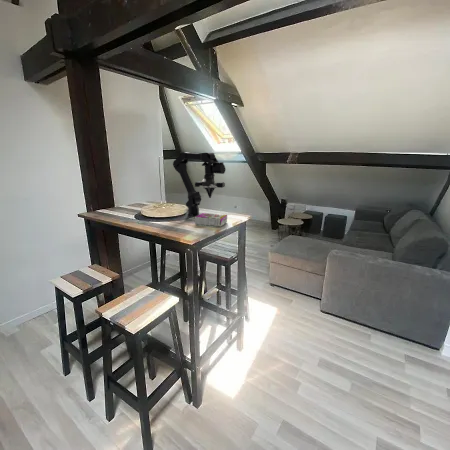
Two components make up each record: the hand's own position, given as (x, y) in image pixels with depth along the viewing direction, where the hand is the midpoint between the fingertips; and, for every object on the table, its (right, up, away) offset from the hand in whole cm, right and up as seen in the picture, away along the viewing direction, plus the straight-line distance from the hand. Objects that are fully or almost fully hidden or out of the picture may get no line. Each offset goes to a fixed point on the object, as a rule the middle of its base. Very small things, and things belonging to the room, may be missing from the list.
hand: (210, 197), depth 156 cm
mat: (+1, -16, -10) cm, 19 cm away
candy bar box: (-7, -13, -9) cm, 18 cm away
